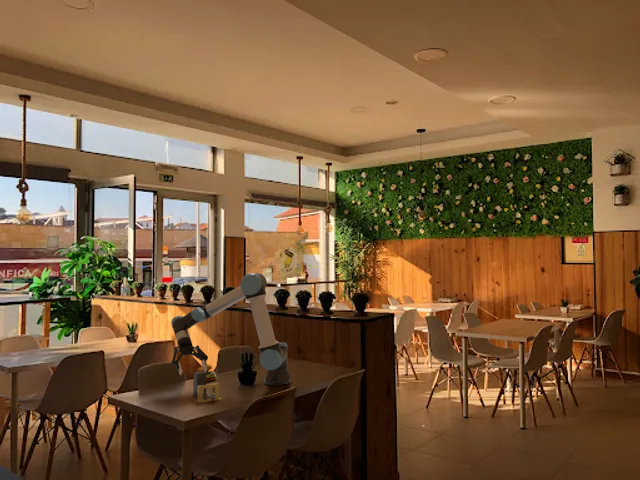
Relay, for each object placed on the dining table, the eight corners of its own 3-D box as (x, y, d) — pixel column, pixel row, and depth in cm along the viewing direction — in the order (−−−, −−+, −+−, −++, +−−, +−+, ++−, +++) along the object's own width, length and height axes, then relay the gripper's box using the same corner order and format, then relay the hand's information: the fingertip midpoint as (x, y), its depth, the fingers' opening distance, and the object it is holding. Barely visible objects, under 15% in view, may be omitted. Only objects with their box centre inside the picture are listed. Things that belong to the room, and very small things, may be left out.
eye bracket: (216, 397, 279) (216, 382, 279) (221, 399, 274) (221, 384, 274) (194, 400, 272) (194, 385, 272) (199, 403, 267) (199, 387, 267)
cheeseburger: (217, 381, 316) (213, 364, 316) (199, 386, 314) (195, 369, 314) (217, 377, 326) (213, 361, 326) (199, 382, 324) (195, 366, 324)
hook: (202, 394, 285) (202, 371, 286) (218, 402, 268) (218, 377, 269) (193, 395, 282) (193, 372, 283) (209, 403, 265) (209, 379, 266)
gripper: (203, 342, 309) (213, 373, 296) (160, 346, 295) (169, 379, 282) (206, 334, 305) (217, 365, 292) (163, 338, 291) (172, 370, 278)
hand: (193, 372), depth 287 cm, fingers open, 13 cm apart
